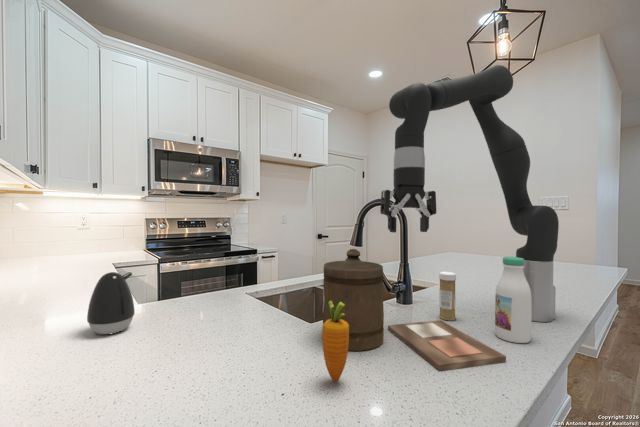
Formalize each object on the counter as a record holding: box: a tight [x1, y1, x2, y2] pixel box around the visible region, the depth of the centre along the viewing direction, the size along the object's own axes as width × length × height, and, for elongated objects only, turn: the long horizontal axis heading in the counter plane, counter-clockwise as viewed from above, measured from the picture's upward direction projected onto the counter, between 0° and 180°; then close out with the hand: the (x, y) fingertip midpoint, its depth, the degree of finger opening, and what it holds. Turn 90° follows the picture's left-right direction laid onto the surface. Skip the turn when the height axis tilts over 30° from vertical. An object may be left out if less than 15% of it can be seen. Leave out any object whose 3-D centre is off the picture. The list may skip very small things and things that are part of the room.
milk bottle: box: [494, 256, 532, 344], centre depth 78 cm, size 8×8×20 cm
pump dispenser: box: [86, 271, 136, 335], centre depth 81 cm, size 10×10×15 cm
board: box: [387, 319, 507, 372], centre depth 74 cm, size 16×22×2 cm
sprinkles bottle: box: [438, 271, 457, 322], centre depth 92 cm, size 5×5×14 cm
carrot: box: [321, 301, 349, 383], centre depth 57 cm, size 5×5×15 cm
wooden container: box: [322, 248, 385, 352], centre depth 77 cm, size 15×15×22 cm
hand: (408, 232), depth 79 cm, fingers open, 8 cm apart
